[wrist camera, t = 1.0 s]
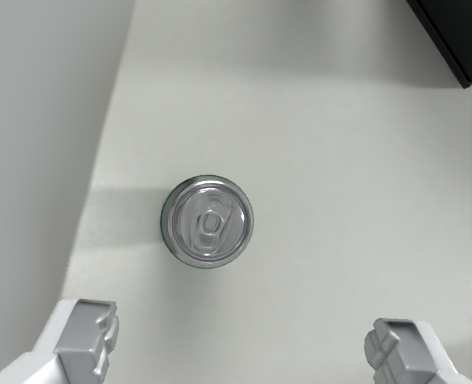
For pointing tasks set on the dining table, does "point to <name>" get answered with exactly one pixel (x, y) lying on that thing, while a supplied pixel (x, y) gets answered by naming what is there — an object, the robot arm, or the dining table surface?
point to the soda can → (206, 221)
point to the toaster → (449, 32)
